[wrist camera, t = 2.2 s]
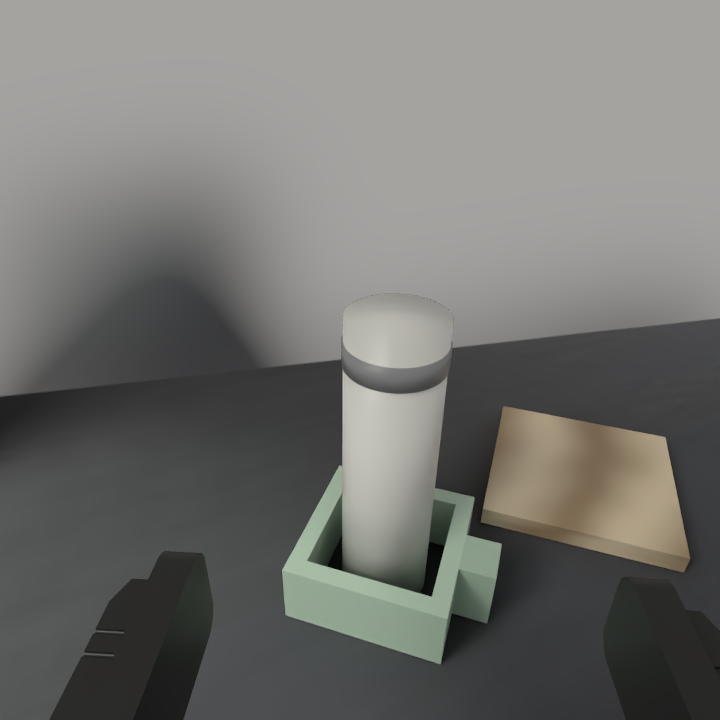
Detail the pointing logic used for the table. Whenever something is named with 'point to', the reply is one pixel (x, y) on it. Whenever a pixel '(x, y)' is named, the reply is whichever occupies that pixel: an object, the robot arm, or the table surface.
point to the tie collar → (386, 602)
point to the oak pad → (586, 488)
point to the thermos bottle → (392, 433)
